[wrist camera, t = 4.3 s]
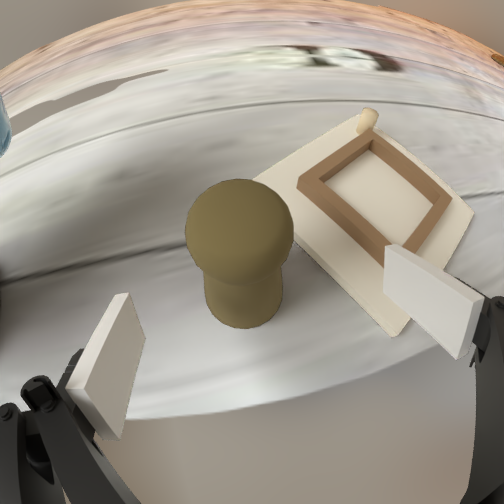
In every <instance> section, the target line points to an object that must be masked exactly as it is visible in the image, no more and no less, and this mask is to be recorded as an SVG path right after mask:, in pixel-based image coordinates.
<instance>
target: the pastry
mask: <svg viewBox="0 0 504 504" xmlns="http://www.w3.org/2000/svg"><path fill="white" fill-rule="evenodd" d="M491 58H493V59H494V60H495V61H496V62H497V63H499V64H500V65H502V66H504V57H502V56H500V55H498V54H493V55H492V56H491Z"/></svg>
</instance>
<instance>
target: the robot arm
mask: <svg viewBox="0 0 504 504" xmlns="http://www.w3.org/2000/svg"><path fill="white" fill-rule="evenodd" d="M11 137H12V129H11V124H10V121H9V117H8V114H7V111H6V108H5V105H4V102H3V99H2V96H1V93H0V158H1V157H2V156H3V155H4V153H5V152H6V151H7V149H8V147H9V145H10V142H11ZM383 293H384V294H385V295H386V296H388V297H389V298H390V299H391V300H392V301H393V302H394V303H396V304H397V305H398V306H399V307H400V308H401V309H402V310H403V311H404V312H406V313H407V314H408V315H409V316H410V317H411V318H412V319H413V320H414V321H415V322H417V323H418V324H419V325H420V326H421V327H422V328H423V329H424V330H425V331H426V332H427V333H428V334H429V335H431V336H432V337H433V338H434V339H435V340H436V341H437V342H438V343H439V344H440V345H441V346H442V347H443V348H444V349H445V350H446V351H447V352H448V353H450V355H452V357H454V358H455V359H456V360H458V359H460V358H461V357H463V356H465V355H467V354H468V352H469V349H470V347H471V344H472V342H473V343H474V344H475V345H476V349H475V352H474V355H473V358H472V360H471V363H470V366H469V367H472V365H473V363H474V362H475V369H476V426H475V427H476V428H475V440H474V450H473V459H472V467H471V473H470V479H469V485H468V489H467V491H466V493H465V495H464V497H463V498H462V500H461V502H460V504H504V297H501V296H496V297H493V298H492V299H490V298H488V297H486V296H485V295H483V294H482V293H480V292H479V291H477V290H476V289H474V288H471V286H469V285H468V284H465V282H463V281H462V280H460V279H458V278H456V277H453V276H451V275H449V274H448V273H446V272H444V271H443V270H441V269H439V268H438V267H436V266H434V265H433V264H431V263H429V262H428V261H426V260H424V259H422V258H421V257H419V256H417V255H415V254H414V253H412V252H410V251H408V250H407V249H405V248H403V247H401V246H399V245H398V244H392V245H387V246H385V258H384V279H383ZM145 339H146V338H145V336H144V333H143V330H142V328H141V325H140V322H139V319H138V317H137V314H136V311H135V308H134V305H133V302H132V299H131V296H130V293H129V292H128V293H122V294H115V296H114V298H113V299H112V301H111V303H110V305H109V306H108V308H107V310H106V311H105V313H104V315H103V317H102V318H101V320H100V322H99V324H98V325H97V327H96V329H95V331H94V333H93V335H92V336H91V338H90V340H89V342H88V344H87V346H86V348H85V349H80V350H79V351H78V352H77V353H76V354H75V355H73V357H72V358H71V360H70V362H69V364H68V366H67V368H66V370H65V373H63V375H62V377H61V379H60V381H59V383H58V385H57V387H56V388H55V387H54V385H53V383H52V382H51V380H50V379H49V378H48V377H47V376H44V375H42V376H36V377H33V378H31V379H30V380H28V381H27V382H26V383H25V384H24V385H23V387H22V389H21V397H22V398H23V400H24V401H25V403H26V404H27V405H28V407H29V408H30V409H31V410H29V411H24V412H21V411H20V410H19V408H18V407H17V406H16V405H15V404H14V403H6V404H4V405H2V406H0V504H66V502H65V498H64V493H63V489H64V491H65V493H66V495H67V497H68V499H69V501H70V502H71V504H141V503H140V501H139V500H138V499H137V498H136V497H135V496H134V494H133V493H132V492H131V491H130V489H129V488H128V487H127V486H126V484H125V483H124V482H123V480H122V479H121V478H120V476H119V475H118V474H117V472H116V471H115V469H114V468H113V467H112V465H111V464H110V463H109V461H108V459H107V458H106V457H105V455H104V454H103V452H102V450H101V449H100V447H99V446H98V444H97V443H96V442H95V441H94V439H93V437H94V433H95V431H96V432H97V434H98V435H99V436H100V437H101V438H102V440H116V441H120V440H121V435H122V430H123V426H124V421H125V417H126V412H127V408H128V404H129V400H130V395H131V391H132V387H133V383H134V379H135V376H136V372H137V368H138V364H139V361H140V357H141V353H142V350H143V346H144V343H145ZM62 487H63V489H62Z"/></svg>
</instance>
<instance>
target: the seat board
mask: <svg viewBox="0 0 504 504" xmlns="http://www.w3.org/2000/svg"><path fill="white" fill-rule="evenodd" d="M378 116H379V115H378V113H377V112H376V111H375V110H373V109H371V108H364V109H363V111H362V114H361V116H360V115H358V114H357V115H355V116H354V117H352V118H350V119H348V120H347V121H345V122H343V123H341V124H340V125H338V126H336V127H335V128H333V129H331V130H329V131H328V132H326V133H324V134H323V135H321V136H319V137H318V138H316V139H314V140H313V141H311V142H310V143H308V144H306V145H305V146H303V147H301V148H300V149H298V150H297V151H295V152H293V153H292V154H290V155H289V156H287V157H285V158H284V159H282V160H281V161H279V162H278V163H276V164H275V165H273V166H271V167H270V168H268V169H267V170H265V171H264V172H262V173H261V174H259V175H258V176H256V177H255V178H253V179H252V180H253V181H256V182H259V183H262V184H265V185H266V186H268V187H269V188H271V189H272V190H274V191H275V192H276V193H277V194H279V196H280V197H281V198H282V199H283V200H284V202H285V203H286V204H287V205H288V208H289V211H290V213H291V216H292V219H293V224H294V241H295V242H296V243H297V244H298V245H300V246H301V247H302V248H303V249H304V250H305V251H306V252H307V253H308V254H309V255H310V256H311V257H312V258H313V259H314V260H315V261H316V262H317V263H318V264H319V265H320V266H321V267H322V268H323V269H324V270H325V271H326V272H327V273H328V274H329V275H330V276H331V277H332V278H333V279H334V280H335V281H336V282H337V283H338V284H339V285H340V286H341V287H342V288H343V289H344V290H345V291H346V292H347V293H348V294H349V295H350V296H351V297H352V298H353V299H354V300H355V301H356V302H357V303H358V304H359V305H360V306H361V307H362V308H363V309H364V310H365V311H366V312H367V313H368V314H369V315H370V316H371V317H372V318H373V319H374V320H375V321H376V322H377V323H378V324H379V325H380V326H381V327H382V328H383V329H384V331H385V332H386V333H387V334H388V335H389V336H390V337H391V338H392V337H395V336H397V335H399V333H400V332H401V331H402V329H403V328H404V327H405V325H406V324H407V323H408V321H409V320H410V319H411V317H410V316H409V315H408V314H407V313H406V312H404V311H403V310H402V309H401V308H400V307H399V306H398V305H397V304H396V303H394V302H393V301H392V300H391V299H390V298H389V297H388V296H386V295H385V294H384V293H383V279H384V258H385V246H387V245H392V244H398V245H399V246H401V247H403V248H405V249H407V250H408V251H410V252H412V253H414V254H415V255H417V256H419V257H421V258H422V259H424V260H426V261H428V262H429V263H431V264H433V265H434V266H436V267H438V268H439V269H441V270H443V269H444V268H445V266H446V264H447V263H448V261H449V259H450V258H451V256H452V254H453V252H454V251H455V249H456V247H457V245H458V244H459V242H460V240H461V238H462V236H463V234H464V232H465V230H466V229H467V227H468V225H469V223H470V221H471V219H472V217H473V215H474V213H475V212H474V211H473V210H472V209H471V208H470V207H469V206H468V205H467V204H466V203H465V202H464V201H463V200H462V199H461V198H460V197H459V196H458V195H457V194H456V193H455V192H454V191H453V190H452V189H451V188H450V187H449V186H448V185H447V184H446V183H445V182H444V181H442V180H441V179H440V178H439V177H438V176H437V175H436V174H435V173H434V172H433V171H431V170H430V169H429V168H428V167H427V166H426V165H424V164H423V163H422V162H421V161H420V160H419V159H417V158H416V157H415V156H414V155H413V154H411V153H410V152H409V151H408V150H406V149H405V148H404V147H403V146H401V145H400V144H399V143H397V142H396V141H395V140H394V139H392V138H391V137H390V136H388V135H387V134H386V133H384V132H383V131H381V130H380V129H379V128H377V127H376V126H375V124H376V121H377V118H378Z"/></svg>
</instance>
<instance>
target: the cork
mask: <svg viewBox="0 0 504 504" xmlns="http://www.w3.org/2000/svg"><path fill="white" fill-rule="evenodd" d="M185 236H186V243H187V248H188V250H189V252H190V254H191V256H192V258H193V259H194V261H195V263H196V265H197V266H198V267H199V268H200V269H201V270H202V271H203V273H204V290H205V297H206V302H207V306H208V307H209V309H210V311H211V312H212V314H213V315H214V316H215V317H216V318H217V319H218V320H219V321H220V322H222V323H223V324H226V325H228V326H230V327H233V328H240V329H249V328H253V327H257V326H260V325H262V324H263V323H265V322H267V321H268V320H270V319H271V318H272V316H273V315H274V314H275V313H276V312H277V311H278V308H279V306H280V303H281V301H282V290H283V286H282V274H281V265H282V264H283V263H284V262H285V261H286V259H287V257H288V254H289V252H290V249H291V246H292V243H293V240H294V224H293V219H292V216H291V213H290V211H289V208H288V205H287V204H286V203H285V202H284V200H283V199H282V198H281V197H280V196H279V194H277V193H276V192H275V191H274V190H272V189H271V188H269V187H268V186H266V185H265V184H262V183H259V182H256V181H253V180H248V179H233V180H227V181H222V182H220V183H218V184H216V185H214V186H212V187H210V188H208V189H207V190H206V191H205V192H204V193H203V194H202V195H200V196H199V197H198V198H197V199H196V201H195V203H194V204H193V206H192V207H191V209H190V211H189V213H188V217H187V222H186V226H185Z"/></svg>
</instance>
